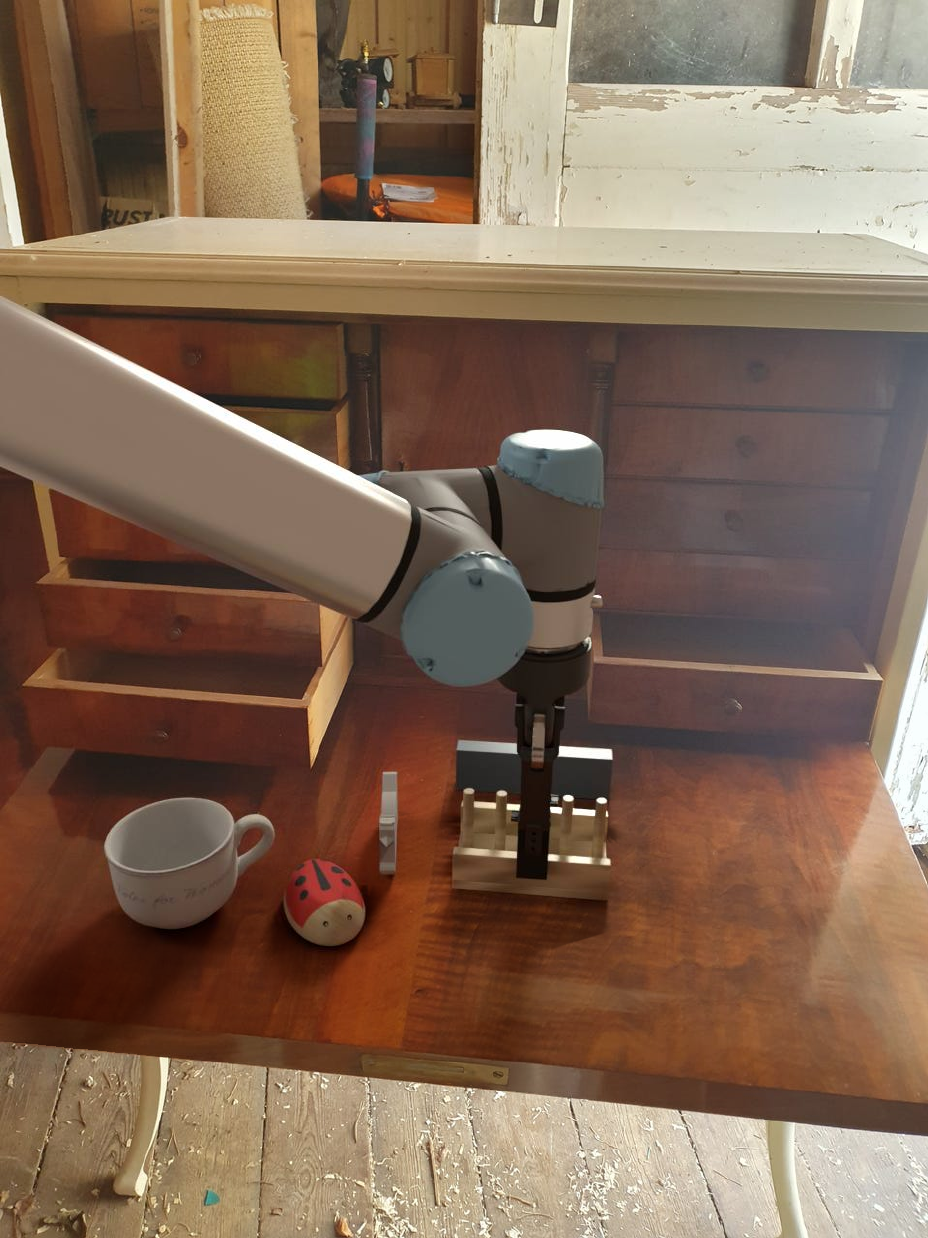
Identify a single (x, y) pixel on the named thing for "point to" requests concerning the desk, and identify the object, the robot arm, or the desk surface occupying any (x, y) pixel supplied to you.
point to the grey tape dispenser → (388, 823)
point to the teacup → (180, 860)
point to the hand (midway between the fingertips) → (531, 873)
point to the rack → (571, 856)
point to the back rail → (502, 769)
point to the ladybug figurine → (323, 903)
